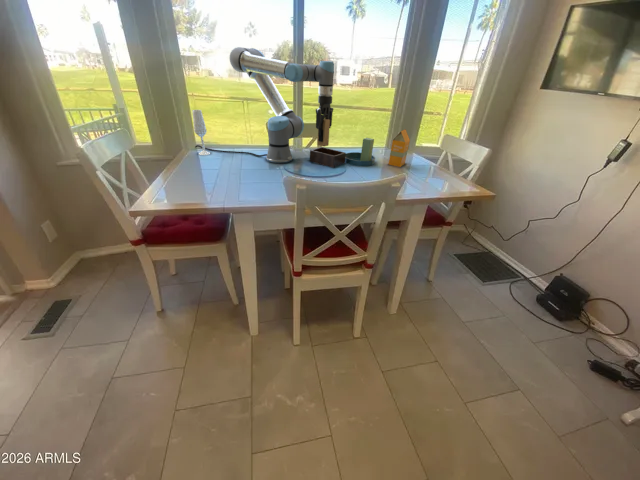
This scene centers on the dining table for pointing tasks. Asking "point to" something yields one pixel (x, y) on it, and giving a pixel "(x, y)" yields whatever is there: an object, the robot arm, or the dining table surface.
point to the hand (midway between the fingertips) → (323, 140)
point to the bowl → (358, 159)
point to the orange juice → (399, 149)
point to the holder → (327, 157)
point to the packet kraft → (325, 133)
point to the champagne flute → (199, 128)
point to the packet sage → (367, 149)
